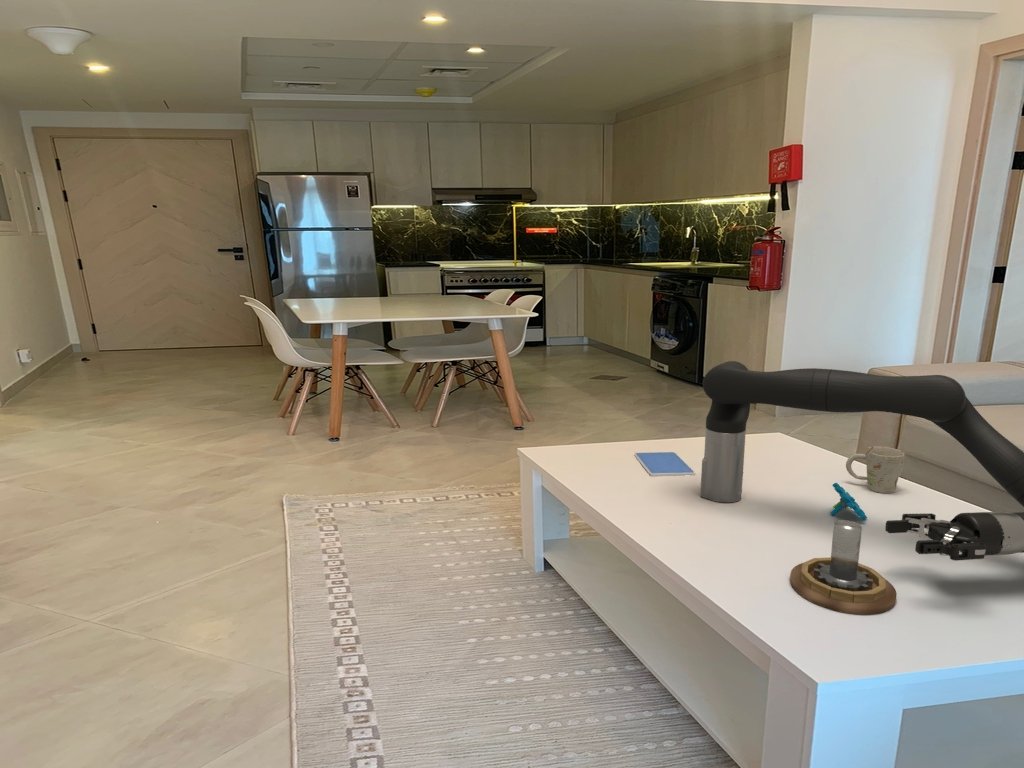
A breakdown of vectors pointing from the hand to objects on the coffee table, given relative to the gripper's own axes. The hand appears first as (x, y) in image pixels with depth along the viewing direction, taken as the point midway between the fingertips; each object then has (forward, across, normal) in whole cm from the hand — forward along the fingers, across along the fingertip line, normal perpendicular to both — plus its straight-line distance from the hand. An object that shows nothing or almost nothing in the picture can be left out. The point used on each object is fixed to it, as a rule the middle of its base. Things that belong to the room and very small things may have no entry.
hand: (901, 536), depth 117 cm
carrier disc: (+10, 0, +10) cm, 14 cm away
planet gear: (+10, 0, +8) cm, 13 cm away
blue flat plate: (+22, -71, +10) cm, 75 cm away
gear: (-9, -32, +10) cm, 35 cm away
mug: (-25, -48, +10) cm, 55 cm away
